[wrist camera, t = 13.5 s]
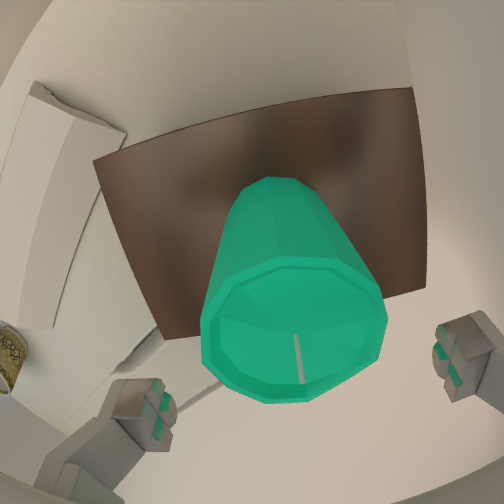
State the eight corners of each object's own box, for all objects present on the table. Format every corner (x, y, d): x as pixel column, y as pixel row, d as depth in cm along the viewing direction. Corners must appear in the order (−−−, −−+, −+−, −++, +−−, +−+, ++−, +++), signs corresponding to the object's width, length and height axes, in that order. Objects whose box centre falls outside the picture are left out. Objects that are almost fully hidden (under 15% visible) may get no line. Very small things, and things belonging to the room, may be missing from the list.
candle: (240, 277, 20) (225, 445, 9) (215, 188, 18) (153, 312, 7) (332, 259, 20) (397, 415, 9) (318, 166, 17) (416, 262, 6)
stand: (349, 95, 27) (413, 87, 15) (369, 223, 33) (426, 288, 20) (157, 139, 30) (91, 160, 17) (195, 259, 35) (164, 340, 23)
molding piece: (44, 283, 46) (51, 329, 40) (-15, 277, 37) (-15, 325, 32) (111, 107, 34) (126, 134, 29) (33, 81, 26) (26, 102, 20)
